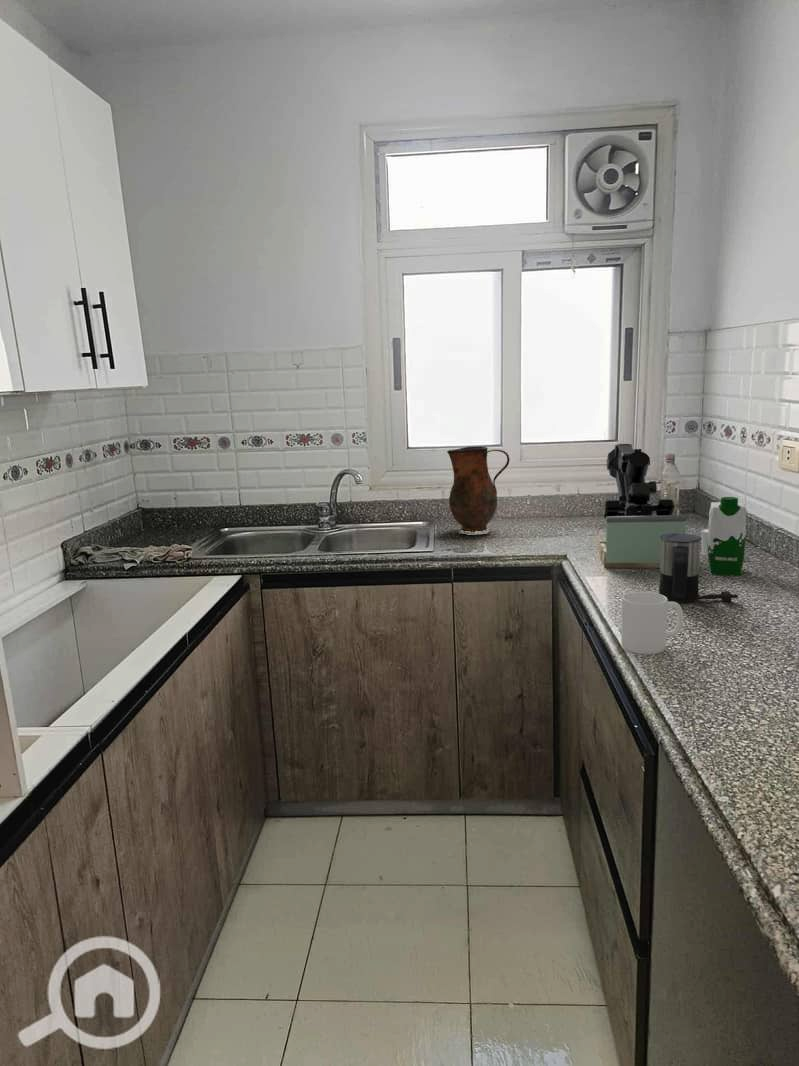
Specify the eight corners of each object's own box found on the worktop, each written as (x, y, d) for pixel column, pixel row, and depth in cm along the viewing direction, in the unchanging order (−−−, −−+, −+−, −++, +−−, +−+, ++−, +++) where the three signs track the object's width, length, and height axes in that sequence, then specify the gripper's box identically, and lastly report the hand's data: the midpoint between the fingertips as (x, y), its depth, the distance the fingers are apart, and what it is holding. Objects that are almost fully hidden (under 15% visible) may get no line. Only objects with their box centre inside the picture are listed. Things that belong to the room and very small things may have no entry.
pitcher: (450, 528, 258) (447, 446, 252) (509, 527, 256) (508, 443, 249) (449, 538, 242) (446, 450, 235) (512, 537, 239) (510, 448, 233)
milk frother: (652, 592, 173) (654, 533, 170) (718, 590, 172) (721, 530, 169) (672, 611, 159) (674, 546, 156) (744, 608, 158) (747, 544, 155)
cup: (614, 641, 142) (615, 593, 140) (672, 636, 143) (673, 588, 141) (631, 656, 134) (632, 605, 132) (692, 651, 135) (694, 601, 133)
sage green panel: (605, 561, 196) (606, 515, 193) (683, 561, 192) (684, 514, 190) (606, 563, 194) (607, 517, 191) (684, 562, 191) (686, 515, 188)
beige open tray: (599, 557, 208) (599, 540, 207) (674, 556, 204) (675, 539, 203) (604, 567, 196) (604, 550, 195) (684, 567, 193) (684, 549, 192)
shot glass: (728, 557, 201) (729, 533, 200) (702, 557, 202) (703, 533, 201) (722, 551, 208) (723, 528, 206) (697, 551, 209) (698, 528, 208)
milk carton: (708, 575, 185) (711, 499, 180) (705, 566, 193) (708, 493, 189) (745, 576, 182) (749, 499, 178) (741, 567, 190) (745, 494, 186)
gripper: (605, 472, 201) (609, 517, 193) (674, 470, 198) (681, 516, 190) (601, 495, 210) (605, 539, 202) (667, 494, 207) (674, 538, 199)
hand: (641, 533), depth 198 cm, fingers closed
